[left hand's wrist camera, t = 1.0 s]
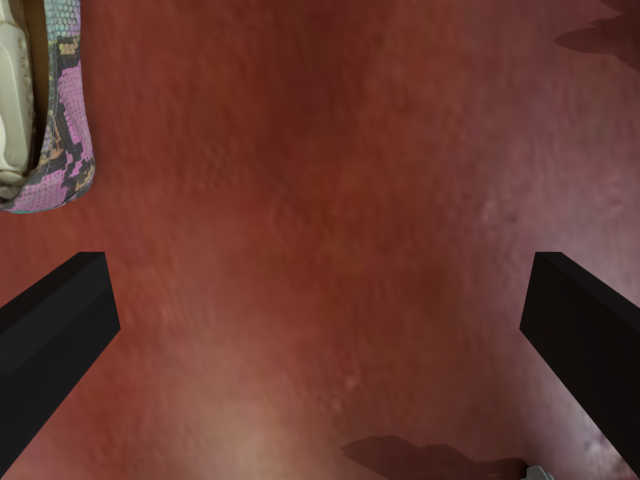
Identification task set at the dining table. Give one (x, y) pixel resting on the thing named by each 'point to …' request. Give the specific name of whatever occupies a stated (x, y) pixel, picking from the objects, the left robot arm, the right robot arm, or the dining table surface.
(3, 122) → the ballet flat
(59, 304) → the left robot arm
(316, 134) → the dining table surface
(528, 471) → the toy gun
